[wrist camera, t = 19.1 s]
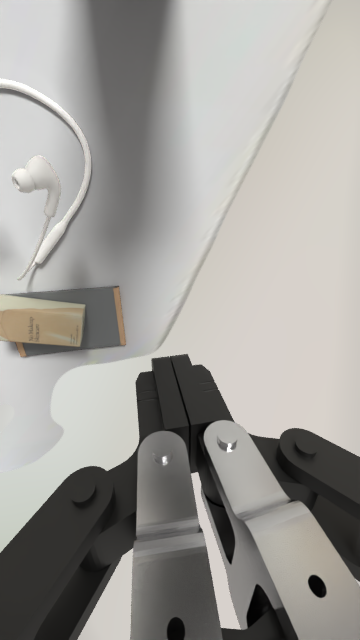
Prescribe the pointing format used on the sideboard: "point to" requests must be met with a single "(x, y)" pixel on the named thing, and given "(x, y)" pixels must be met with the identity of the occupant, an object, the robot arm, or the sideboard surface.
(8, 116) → the sideboard surface
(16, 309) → the box
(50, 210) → the earphone
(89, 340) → the mat
